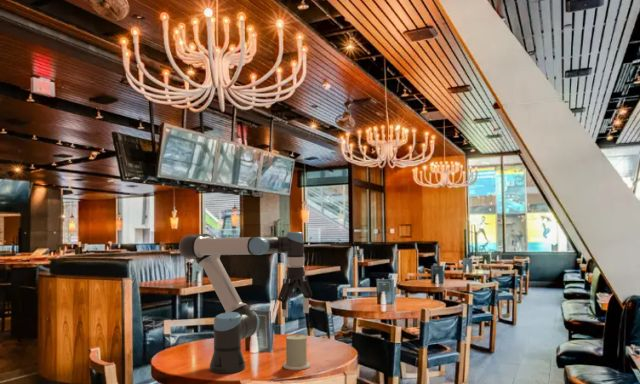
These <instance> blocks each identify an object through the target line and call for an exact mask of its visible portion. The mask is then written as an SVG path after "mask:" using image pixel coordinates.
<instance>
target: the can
mask: <svg viewBox="0 0 640 384" xmlns="http://www.w3.org/2000/svg"><path fill="white" fill-rule="evenodd" d="M307 338H308V337H307V336H306V335H302V334H301V335H299V334H298V335H297V334H295V335H287V336H286V339H285V341H286V344H285V345H286V348H285V349H286V351H285V353H286V355H285V356H286V359H285V360H286V361H285V362H286V365H288V366H292V367H299V366H304V365H306V364H307V362H308V361H307V355H308V354H307V350H308V349H307V343H308V341H307V340H308V339H307Z"/></svg>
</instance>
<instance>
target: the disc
mask: <svg viewBox="0 0 640 384" xmlns="http://www.w3.org/2000/svg"><path fill="white" fill-rule="evenodd" d="M282 368H283V369H285V370H288V371H289V370H290V371H302V369H303V370H307V369H309V368H311V362H309V361H307V364H306V365H304V366H299V367H292V366H288V365H286V361H285V362H284V363H282Z"/></svg>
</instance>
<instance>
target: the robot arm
mask: <svg viewBox="0 0 640 384" xmlns="http://www.w3.org/2000/svg"><path fill="white" fill-rule="evenodd" d="M304 245H305V239H304V233H303V231H302V232H301V231H288V232H287V233H286V235H283V236H278V235H277V236H272V235H271V236H248V237H245V236H244V237H215V235H213V234H210V233H209V234H208V233H202V234H198V233H197V234H187V235H184V236H183V237H182V238H181V240H180V241H179V244H178V250H179V253H180V255H181V256H182V257H183V258H185V259H188V260H195V261H196V263H197V265H198V266H199V267H201V268H202V269H203V270H204V272H205V274H206V276H207V278H208V280H209V281H210V283H211V285H212V288H213V290H214V291H215V293H216V295H217V298H218V299H219V301H220V303H221V305H222V307H223V309H224V311H225V312H221V313H219V314H216V316H215V317H214V319H213V326H212V327H213V354H212V355H211V356H212V357H211V360H210V362H209V371H210V372H211V373H215V374H233V373H239V372H242V371H244V370H245V369H246V362H245V358H244V356H243V352H242V340H244V339H246V338H250V337H252V336H253V335H255V334H256V332H258V330H259V328H260V317H259V316H258V314H257V313H256V311H254V310H252V309H250V307H249V305H248V304H247V303H245V302H243V301H242V299H241V297H240V295H239V294H238V291H237V290H236V288H235V286H234V284H233V282H232V280H231V278H230V276H229V274H228V273H227V271H226V268H225V267H224V265H223V263H222V261H221V256H231V255H232V256H233V255H236V256H238V255H239V256H241V255H242V256H244V255H253V256H254V255H255V256H262V255H270V254H286V257H287V258H286V262H287V263H286V265H287V268H286V275H287V276H288V278H286V277H285V278H283V279H282V285H281V289H280V292H279V295H278V298H277V301H279V302H281V310H282V312H281V314H282V317H283V318H289V301H288V300H289V298H290V296H291V294H292V292H293V290H294V289H296V288H298V289H299V291H300V292H301V294H302V295H303V298H302V313H305V314H309V313H310V308H309V306H310V299H311V298H312V297H313V291H312V289H311V285H310V283H309V278H308V276H306V275H305V267H304V266H305V247H304Z"/></svg>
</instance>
